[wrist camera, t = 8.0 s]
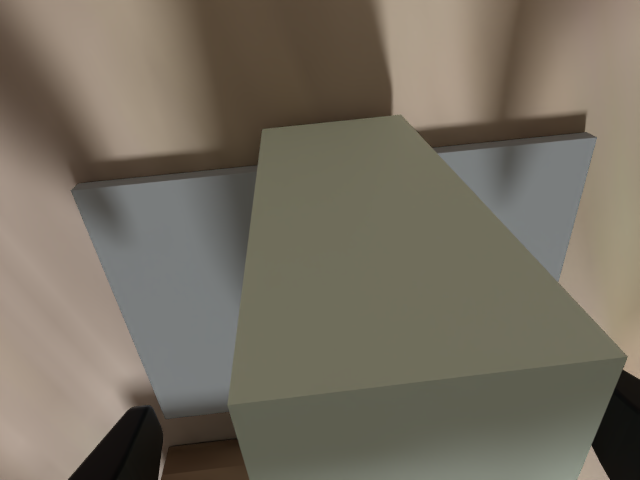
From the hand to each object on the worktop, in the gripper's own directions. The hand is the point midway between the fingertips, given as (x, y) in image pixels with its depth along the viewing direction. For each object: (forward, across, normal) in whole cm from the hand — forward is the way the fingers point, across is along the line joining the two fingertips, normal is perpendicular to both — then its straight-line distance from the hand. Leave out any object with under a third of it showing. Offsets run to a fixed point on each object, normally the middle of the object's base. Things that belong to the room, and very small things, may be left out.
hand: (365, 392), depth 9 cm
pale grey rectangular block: (+3, 0, 0) cm, 3 cm away
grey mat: (+4, 0, 0) cm, 4 cm away
